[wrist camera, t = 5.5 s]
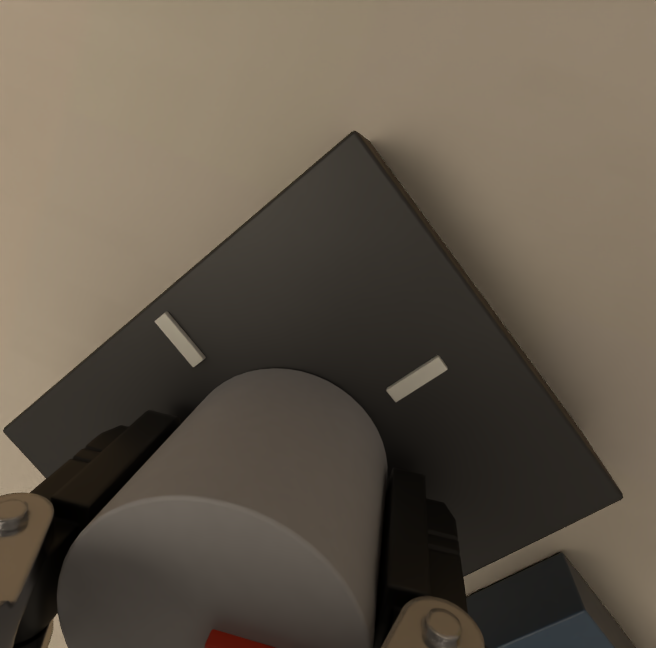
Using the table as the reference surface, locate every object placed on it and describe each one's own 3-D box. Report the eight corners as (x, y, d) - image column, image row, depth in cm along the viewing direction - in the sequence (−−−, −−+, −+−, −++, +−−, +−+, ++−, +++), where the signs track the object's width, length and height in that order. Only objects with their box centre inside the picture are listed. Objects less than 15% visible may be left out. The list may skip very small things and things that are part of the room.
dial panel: (71, 386, 16) (-5, 433, 13) (367, 138, 13) (354, 127, 10) (265, 606, 18) (236, 694, 15) (583, 434, 14) (629, 503, 11)
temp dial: (178, 520, 13) (39, 726, 8) (199, 345, 12) (43, 470, 7) (363, 571, 13) (333, 821, 8) (409, 396, 11) (408, 569, 6)
